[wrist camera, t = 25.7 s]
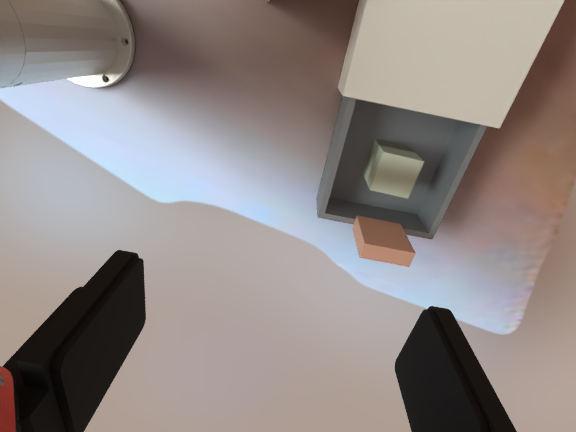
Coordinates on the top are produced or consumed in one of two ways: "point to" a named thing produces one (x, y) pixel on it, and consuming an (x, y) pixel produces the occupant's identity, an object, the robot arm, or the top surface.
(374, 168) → the sage block
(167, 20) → the top surface
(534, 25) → the white drawer housing
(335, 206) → the tray
